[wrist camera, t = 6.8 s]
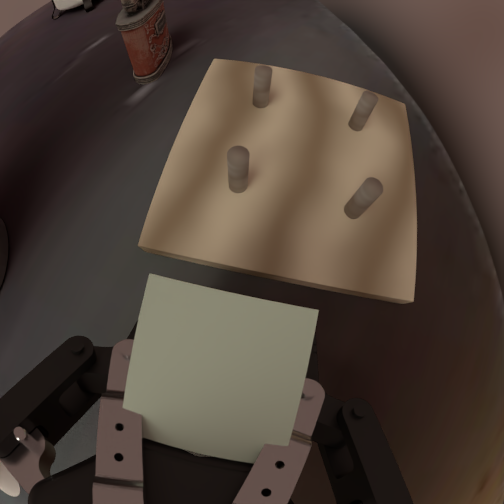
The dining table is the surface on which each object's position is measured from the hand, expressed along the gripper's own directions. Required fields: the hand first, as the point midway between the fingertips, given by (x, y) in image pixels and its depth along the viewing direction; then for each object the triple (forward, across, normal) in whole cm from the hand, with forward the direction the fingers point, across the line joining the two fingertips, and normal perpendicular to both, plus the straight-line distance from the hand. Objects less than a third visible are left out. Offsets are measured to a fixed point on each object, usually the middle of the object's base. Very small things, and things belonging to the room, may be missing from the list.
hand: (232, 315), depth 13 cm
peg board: (+12, -2, -5) cm, 13 cm away
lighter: (+19, +14, -12) cm, 27 cm away
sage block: (+2, 0, +4) cm, 5 cm away
